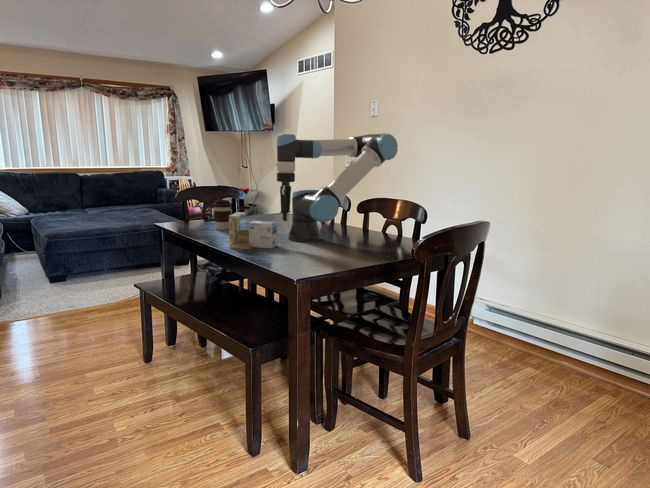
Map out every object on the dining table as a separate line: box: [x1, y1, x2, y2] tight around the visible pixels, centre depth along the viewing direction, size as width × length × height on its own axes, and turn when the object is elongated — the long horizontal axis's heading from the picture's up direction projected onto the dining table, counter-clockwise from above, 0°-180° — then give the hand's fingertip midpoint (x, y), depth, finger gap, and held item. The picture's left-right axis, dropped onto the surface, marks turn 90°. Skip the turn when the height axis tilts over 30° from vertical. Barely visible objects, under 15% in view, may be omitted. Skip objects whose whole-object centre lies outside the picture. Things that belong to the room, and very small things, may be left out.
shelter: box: [228, 211, 252, 250], centre depth 196 cm, size 12×9×14 cm
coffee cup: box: [211, 199, 233, 231], centre depth 236 cm, size 10×10×15 cm
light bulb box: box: [248, 220, 278, 249], centre depth 195 cm, size 11×7×11 cm, turn 78°
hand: (285, 228), depth 193 cm, fingers closed
